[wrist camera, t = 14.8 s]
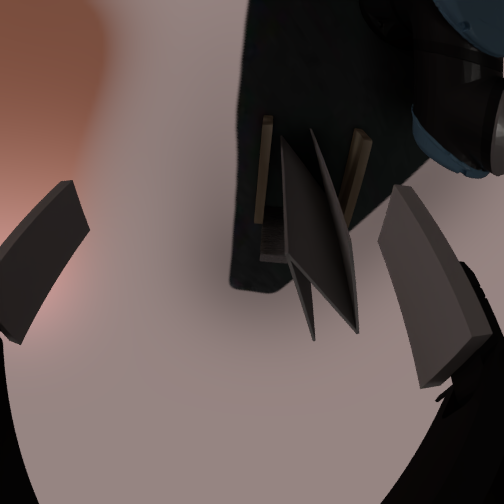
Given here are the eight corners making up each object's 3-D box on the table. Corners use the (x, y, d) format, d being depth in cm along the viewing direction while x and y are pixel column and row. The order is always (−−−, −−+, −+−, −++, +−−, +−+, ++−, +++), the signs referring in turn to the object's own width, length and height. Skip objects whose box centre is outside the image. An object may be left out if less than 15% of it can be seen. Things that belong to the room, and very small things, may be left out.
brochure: (327, 197, 53) (359, 333, 31) (300, 203, 55) (313, 341, 32) (311, 128, 45) (351, 240, 22) (280, 135, 46) (284, 253, 24)
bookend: (333, 213, 56) (346, 262, 45) (332, 219, 57) (344, 268, 46) (263, 205, 56) (260, 253, 45) (263, 212, 57) (259, 260, 46)
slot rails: (362, 129, 44) (372, 141, 39) (341, 214, 56) (346, 232, 51) (263, 114, 44) (262, 124, 39) (256, 205, 56) (254, 223, 51)
